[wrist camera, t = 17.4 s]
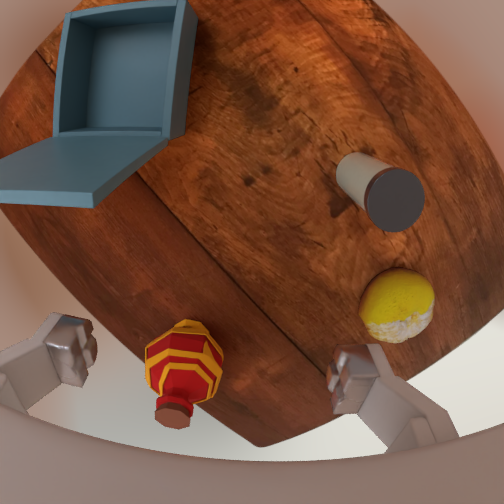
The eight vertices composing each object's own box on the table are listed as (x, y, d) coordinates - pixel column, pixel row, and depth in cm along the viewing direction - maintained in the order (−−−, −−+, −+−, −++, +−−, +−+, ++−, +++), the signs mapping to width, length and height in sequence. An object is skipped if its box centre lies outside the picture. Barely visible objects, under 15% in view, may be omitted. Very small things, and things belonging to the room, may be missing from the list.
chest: (94, 25, 26) (65, 13, 20) (198, 18, 27) (186, -2, 20) (83, 133, 32) (52, 140, 26) (184, 134, 32) (169, 140, 26)
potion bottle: (145, 309, 42) (110, 389, 28) (217, 299, 41) (204, 387, 28) (169, 363, 46) (149, 442, 33) (234, 357, 45) (230, 442, 32)
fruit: (344, 330, 43) (363, 353, 35) (361, 257, 42) (386, 268, 34) (408, 335, 43) (434, 356, 36) (426, 269, 42) (457, 281, 34)
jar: (364, 141, 33) (408, 156, 23) (387, 181, 34) (433, 210, 24) (325, 167, 34) (355, 192, 24) (349, 206, 36) (384, 244, 26)
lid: (-56, 189, 12) (-54, 201, 13) (92, 193, 13) (93, 208, 14) (50, 137, 25) (50, 145, 25) (168, 136, 26) (168, 145, 26)
